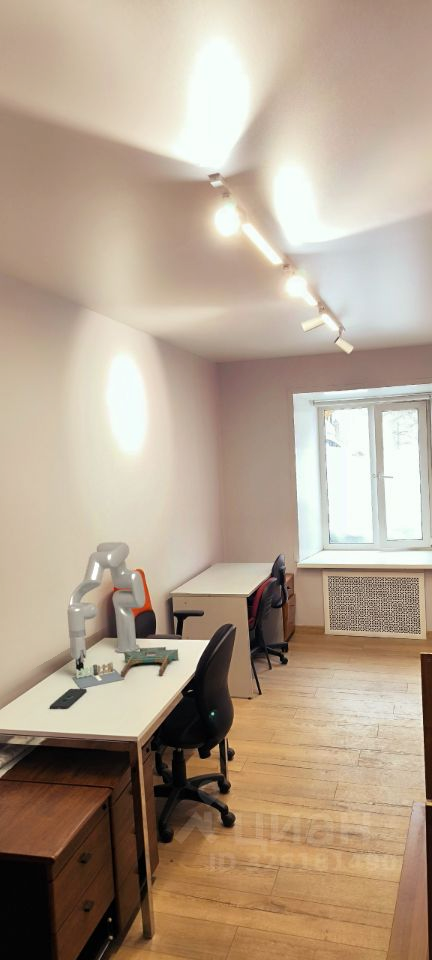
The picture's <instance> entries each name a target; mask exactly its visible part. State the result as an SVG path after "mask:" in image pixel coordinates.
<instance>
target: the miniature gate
mask: <svg viewBox="0 0 432 960" xmlns="http://www.w3.org/2000/svg"><path fill="white" fill-rule="evenodd" d="M138 650H139V651H138ZM138 650H136V651H132V652H125V651H124V653H123V654H124V663H125V664H124V667H123V668H122V669H121V671H120V675H121V677H123V678H125V677H126V675H127V673H128V671H129V670H130V668H131V667H132V666H133V665H136V664H141V663H161V665H160V668H159V669H158V674H159V676H163V675H164V673H165V670H166V668H167V666H168V665H169V662H172V661H179V660H180V659H179V649H178V648H177V649H167V646H161V647H159V646H158V647H139V649H138Z"/></svg>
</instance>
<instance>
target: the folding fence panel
mask: <svg viewBox="0 0 432 960" xmlns="http://www.w3.org/2000/svg"><path fill="white" fill-rule="evenodd" d="M89 667H90V668H88V667H84V670H83V668H82V669H81V670H80V671H79V670H78V669H77V670H76V669H75V674H76V675H75V677H76V678H79V677H84V676H86V677H87V676H89V675H91V676H92V675H93V673H94V671H93V666H89Z"/></svg>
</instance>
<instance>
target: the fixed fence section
mask: <svg viewBox="0 0 432 960" xmlns="http://www.w3.org/2000/svg"><path fill="white" fill-rule="evenodd" d="M92 667H93V673H94V676H96V675H100V674H101V673H103V674H105V673H106V672H109V673H110V672H113V669H114V663H113V661H111V662H109V663H107V664H102V665H100V664H99V665H98V664H93V665H92ZM106 668H107V669H106ZM101 669H102V670H101Z"/></svg>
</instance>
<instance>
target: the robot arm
mask: <svg viewBox="0 0 432 960" xmlns="http://www.w3.org/2000/svg"><path fill="white" fill-rule="evenodd" d="M129 554H130V547H129V545H128V544H127V543H126V542H121V541H118V542H114V541H113V542H102V543H99V544H98V545H97V546H96V551H94V552H92V553H90V556H89V557H88V563H87V566H86V569H85V570H86V571H85V572H84V573H85V574H84V578H83V581H82V582H81V583H80V584H79V585H77V587H76V588H75V590H73V591H72V594H71V595H70V599H69V603H68V608H67V624H68V625H67V626H68V638H69V646H70V656H71V658H73V659H74V660H75V671H76V670H77V669H78V670H79V671H80V670H81V669H82V668H83V670H85V666H84V664H85V663H84V662H85V659H86V658H87V647H86V640H85V637H87V635H86V633H87V631H86V623H85V622H86V621H87V620H92V619H94V618H95V617H96V616H97V615H98V612H99V608H98V606H97V605H96V603H92V602H81V601H82V599H83V597H84V596H86V594H87V593H89V592H91V591H93V590H94V589H97V588H98V587H100V586H101V585H102V581H103V577H104V572H105V570H106V569H109V572H110V577H111V583H112V585H113V587H114V588H116V589H117V591H115V592H114V593H113V595H112V603H113V607H114V612H115V622H116V635H117V646H116V647H115V648H114V649H115V651H116V652H117V653H119V654H120V653H123V654H124V651H125V652H133V651H138V650H140V649H139V648H140V645H139V644H137V638H136V637H137V636H136V624H135V614H134V611H133V610H132V609H141V608H143V607H144V606H145V604H146V593H145V586H144V581H143V580H144V579H143V577H142V575H141V573H140V572H139V571H138V570H135V569H134V570H133V569H132V570H131V569H130V570H129V569H128V568H127V565H126V561H125V560H126V559H127V558H128V556H129Z"/></svg>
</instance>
